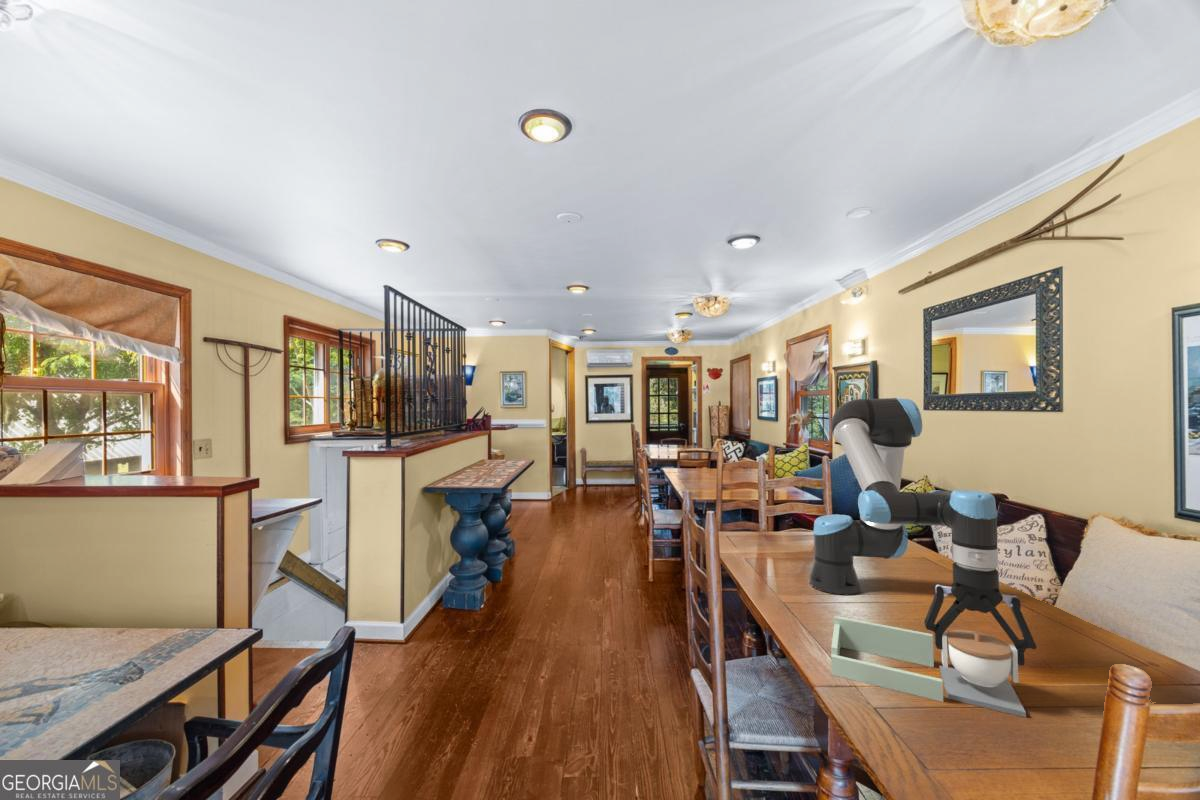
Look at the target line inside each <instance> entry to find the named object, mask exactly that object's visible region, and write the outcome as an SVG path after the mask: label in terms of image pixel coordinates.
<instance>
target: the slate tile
mask: <svg viewBox="0 0 1200 800" xmlns="http://www.w3.org/2000/svg"><path fill="white" fill-rule="evenodd" d="M938 667H939V671H940V675H941V679H942V681H943V688H944V689H945V693H946V696H947V697H946V698H947V699H948V700H952V701H957V702H960V703H965V704H968V705H973V706H976V707H981V708H985V709H988V710H993V711H997V712H1001V713H1005V714H1010V715H1014V716H1018V717H1023V718H1027V712H1026V710H1025V708H1024V706H1023V704H1022V702H1021V701H1020V698H1019V697H1018V695H1017V693H1016V691H1015V690H1014V687H1013V686H1012V684H1011V682H1010V680H1009V679H1006V680H1005V681H1004V682H1002V683H1000V684H998V686H997V687H983V686H979V685H976V684H973V683H971V682H969V681H967V680H965V679H964V678H963V677H962V676H961V674H960V673H959V672H958V671H957V670H956V669H955V668H954V667H949V666H948V668H946V667H943V665H939V666H938Z"/></svg>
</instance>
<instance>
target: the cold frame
mask: <svg viewBox="0 0 1200 800" xmlns="http://www.w3.org/2000/svg"><path fill="white" fill-rule="evenodd" d="M833 618H834V619H833V621H834V622H833V623H834V625H833V632H832V639H831V647H830V650H831V651H830V652H831V655H830V662H831V663H830V667H831V668H830V670H831V671H830V672H831V673H830V674H831V676H835V677H841V678H843V679H849V680H852V681H857V682H860V683H865V684H869V685H873V686H877V687H880V688H884V689H888V690H892V691H897V692H900V693H901V692H902V693H904V694H908V695H914V696H916V697H920V698H926V699H929V700H933V701H937V702H941V703H944V683H943V680H942V678H939V677H934V676H930V675H926V674H921V673H918V672H913V671H907V670H904V669H900V668H895V667H891V666H886V665H882V664H877V663H873V662H868V661H864V660H859V659H855V658H851V657H846V656H842V655H840V654H841V648H844V649H848V650H853V651H857V652H862V653H866V654H871V655H875V656H879V657H885V658H890V659H894V660H898V661H902V662H903V661H904V662H907V663H910V664H911V663H913V664H917V665H921V666H926V667H929V668H930V667H931V668H934V667H935V662H934V636H933V633H927V632H923V631H916V630H911V629H908V628H902V627H896V626H891V625H885V624H881V623H880V624H879V623H875V622H869V621H866V620H865V621H864V620H859V619H852V618H850V617H849V618H848V617H843V616H838V615H834V616H833Z"/></svg>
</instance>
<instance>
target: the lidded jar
mask: <svg viewBox="0 0 1200 800" xmlns="http://www.w3.org/2000/svg"><path fill="white" fill-rule="evenodd" d="M945 633H946V636H947V655H948V658H949V659H948V660H950V663H951V664H952V667H953V668H954V669H956V670H957V671H958V672H959V673H960V674H961V676H962V677H963V678H964V679H965V680H967V681H969V682H971V683H973V684H976V685H979V686H983V687H997V686H998V684H1000V683H1002V682H1004V681H1005V680H1008V678H1009V676H1010V671H1011V661H1012V659H1011V656H1012V649H1011V648H1010V646H1009V643H1008V644H1007V643H1006V642H1005V641H1003V640H1001V639H999V638H997V637H995V636H992V635H988V634H985V633H983V632H978V631H973V630H968V629H952V630H949V631H947V632H945Z"/></svg>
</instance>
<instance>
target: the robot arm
mask: <svg viewBox="0 0 1200 800" xmlns="http://www.w3.org/2000/svg"><path fill="white" fill-rule="evenodd" d="M921 414H922V413H921V411H920V409H919V407H918V405H917V404H916V403H915V401H913V400H911V399H909V398H898V397H897V398H896V397H893V398H891V397H890V398H888V397H887V398H855V399H852V400H849V401H846V402H845V403H843V404H842V405H840V407H838V409H837V410H836V411H835V412H834V414H833V416H832V419H831V421H830V428H831V430H830V431H831V433H832V435H833V437H834V440H835V441H836V442H837V443H839V444H840V445H841V446H842V449H843V451H844V453H845V456H846V457H847V460H848V462H849V465H850V466H851V469H852V471H853V473H854V475H855V478H856V480H857V482H858V484H859V487H860V488H861V491H860V493H859V494H858V498H857V505H858V506H857V508H858V509H859V510H858V511H859V520H857V519H856V520H854V519H853V518H852V516H850V515H848V514H847V515H846V514H838V513H836V514H826V515H822V516H818V517H817V518H816V519H815V520H814V522H813V546H814V551H813V553H814V554H813V555H814V562H813V564H812V568H811V571H810V573H809V576H808V577H809V584H810V583H811V584H812V585H813V586H814V587H816V588H818V589H820V590H823V591H826V592H825V593H827V592H829V594H832V593H835V594H834V595H839V594H844V596H845V595H846V596H848V595H849V594H851V595H856V594H859V592H861V582H860V580H859V576H858V574H857V572H856V569H855V567H854V557H859V558H877V559H878V558H881V559H883V560H884V559H885V560H887V559H900V558H901V557H903V556H904V555H905V553H906V552H907V548H908V544H909V538H908V530H907V528H906V526H905V525H915V526H937V527H939V526H941V527H946V528H949V529H951V530H950V531H951V555H952V557H951V559H952V561H953V563H952V584H951V586H949V585H948V586H946V585H942V584H940V583H935V585H934V590H935V594H934V596H933V599H932V602H931V604H930V607H929V609H928V612H927V614H926V615H925V619H924V622H923V623H924V626H925V629H926V630H928V631H932V632H933V633H934V645H935V647H936V649H937V650H941V663H942V666H943V667H946V668H948V667H949V664H948V663H949V662H948V660H949V659H948V658H949V655H948V650H947V636H946V633H947V632H946V631H947V629H948V628H949V627H950V625H952V623H953V622H954V621H955V620H956V619H957V618H958V617H959V616H960V614H962V613H963V612H964V611H965V610H967V611H971V612H976V611H977V612H979V613H983V614H987V613H990V614H991V615H992V616H993V617H994V619H995V620H996V622H997V623H998V625H1000V627H1001V629H1002V630H1003V631H1004V632H1005V634H1006V635H1007V636H1008V638H1009V639H1010V640H1011V642H1012V643H1008V645H1009V646H1010V648H1011V649H1012V656H1011V659H1012V661H1011V671H1010V674H1009V676H1010V678H1011V680H1012V682H1013V683H1015V684H1016V683H1017V684H1019V666H1024V665H1025V652H1026V650H1027V649H1028V650H1029V649H1031V650H1035V649H1036V648H1037V644H1036V642H1035V640H1034V637H1033V635H1032V632H1031V631H1030V629H1029V627H1028V624H1027V622H1026V620H1025V618H1024V615H1023V613H1022V611H1021V600H1020V599H1019V597H1018V596H1017V595H1016V594H1013V593H1012V594H1004V593H1003V594H1002V593H1001V591H1000V579H999V575H1000V574H999V570H997V568H998V567H999V556H998V555H999V554H998V552H999V551H998V509H997V505H996V498H995V496H994V495H993V494H991V493H989V492H986V491H980V490H972V489H970V490H969V489H956V490H953V491H952V492H950V491H947V490H940V489H938V490H931V491H928V492H926V491H925V492H923V491H921V492H920V491H919V492H918V491H900V490H901V481H902V474H903V473H902V472H903V464H904V463H903V462H904V455H905V449H907V448H908V447H910V446H912V439H913V438H917V437H919V436H920V435H921V434H922V432H923V419H922V418H923V417H922V415H921ZM814 587H813V588H814ZM816 588H815V589H816ZM818 589H817V590H818ZM820 590H819V591H820ZM823 591H822V592H823ZM855 593H856V594H855ZM949 594H952V595H953V597H954V598H955V600H954V601H953V603H952V604H951V605H950V607H949V608H948V610H946V612H945V613H944V614H943V615H942V616H941V617H940V619H939V620H938V621H937V622H936V620H937V619H938V615H939V612H940V610H941V608H942V605H943V603H944V601H945V598H947V597H949ZM849 596H850V595H849ZM1002 601H1004V602H1005V604H1006V606H1007V607H1009V608H1010V610H1011V613H1012V615H1013V617H1014V619H1015V622H1016V625H1017V626H1018V629H1019V631H1020V633H1021V635H1022V639H1019V637H1018V635H1016V633H1015V632H1014V630H1013V629H1012V627H1010V625H1009V624H1008V622H1007V621H1006V620H1005V618H1003V616H1002V615H1001V613H1000V612H999V610H997V606H999V604H1000V603H1001V602H1002ZM935 623H936V624H935Z"/></svg>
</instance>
